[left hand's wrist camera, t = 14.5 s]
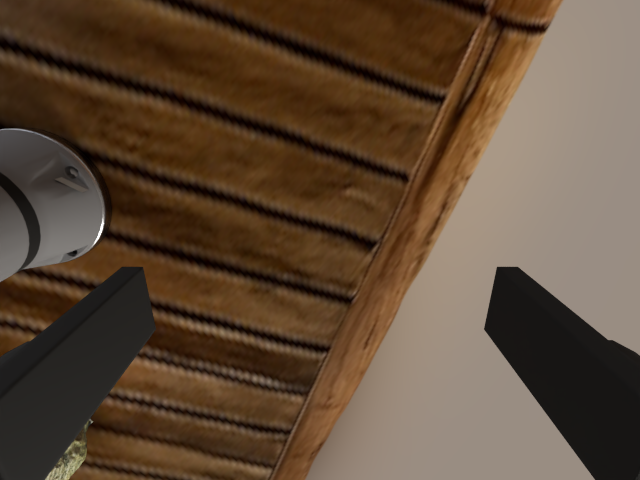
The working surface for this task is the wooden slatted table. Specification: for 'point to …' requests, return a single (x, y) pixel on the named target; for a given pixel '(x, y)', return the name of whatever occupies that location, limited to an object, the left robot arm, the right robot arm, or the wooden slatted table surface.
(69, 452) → the fossil
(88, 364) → the left robot arm
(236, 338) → the wooden slatted table surface
